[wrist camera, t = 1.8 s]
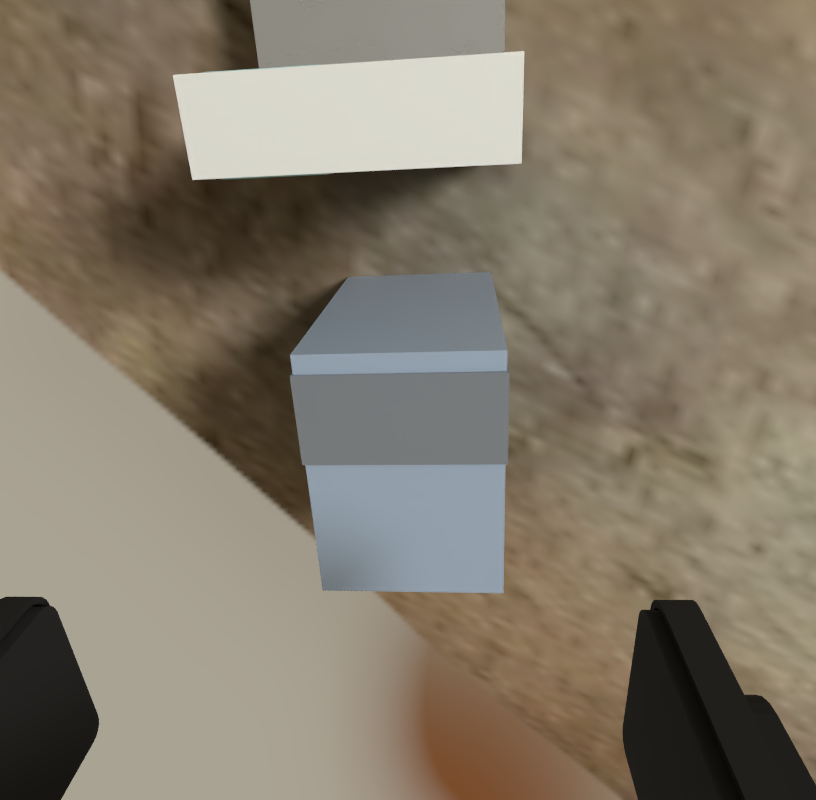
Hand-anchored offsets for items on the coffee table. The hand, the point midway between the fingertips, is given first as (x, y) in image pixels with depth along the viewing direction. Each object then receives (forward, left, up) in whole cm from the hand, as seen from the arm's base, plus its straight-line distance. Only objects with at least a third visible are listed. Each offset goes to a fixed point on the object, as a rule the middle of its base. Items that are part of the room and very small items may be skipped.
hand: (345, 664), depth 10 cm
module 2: (-1, 0, -14) cm, 14 cm away
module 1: (+3, -8, -12) cm, 15 cm away
